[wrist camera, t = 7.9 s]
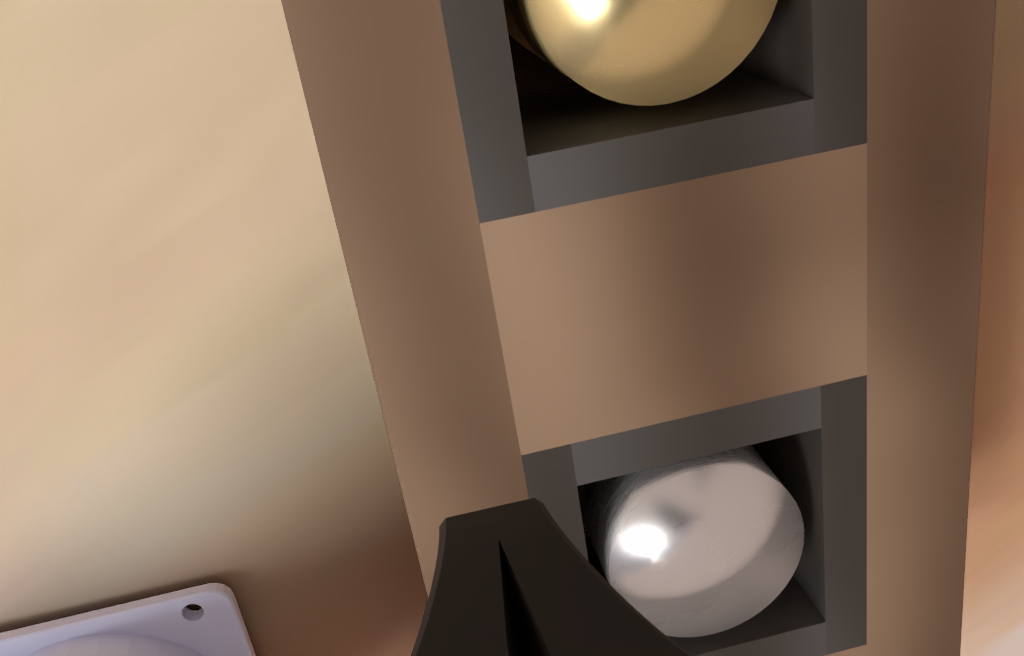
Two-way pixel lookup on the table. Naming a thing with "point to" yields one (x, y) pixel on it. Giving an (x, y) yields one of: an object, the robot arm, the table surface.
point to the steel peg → (696, 539)
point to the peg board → (679, 284)
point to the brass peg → (640, 42)
